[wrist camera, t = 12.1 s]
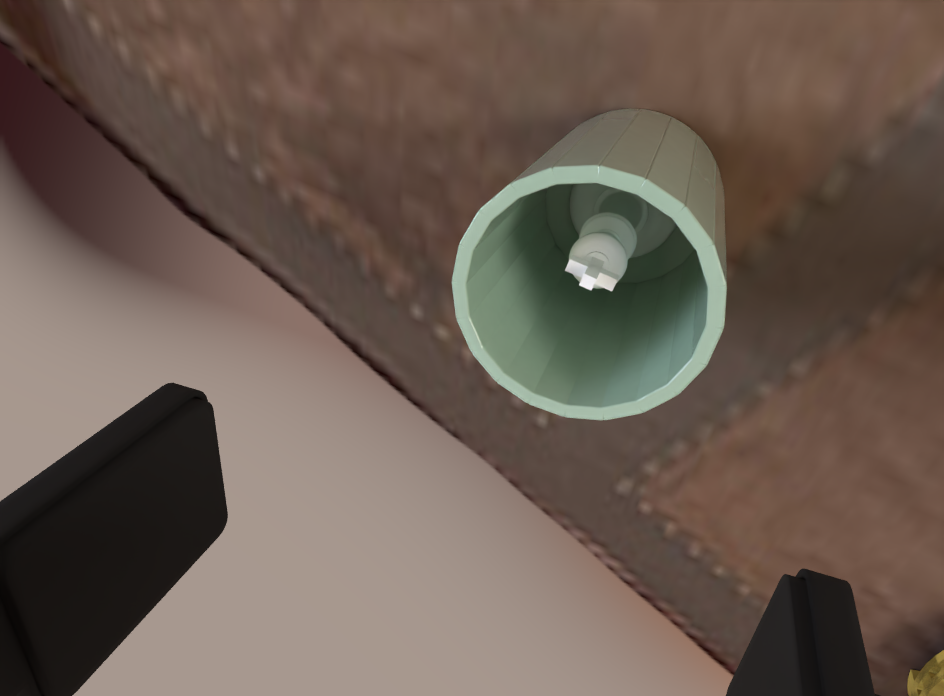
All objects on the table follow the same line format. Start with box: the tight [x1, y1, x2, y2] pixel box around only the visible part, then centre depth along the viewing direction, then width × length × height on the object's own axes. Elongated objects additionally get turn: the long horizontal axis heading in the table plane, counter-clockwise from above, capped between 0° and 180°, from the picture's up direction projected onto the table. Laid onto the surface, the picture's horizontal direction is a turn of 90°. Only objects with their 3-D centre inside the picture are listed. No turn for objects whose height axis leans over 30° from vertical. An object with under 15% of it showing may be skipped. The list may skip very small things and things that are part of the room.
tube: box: [452, 109, 727, 420], centre depth 25 cm, size 8×8×12 cm
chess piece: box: [565, 183, 677, 291], centre depth 25 cm, size 5×5×10 cm
